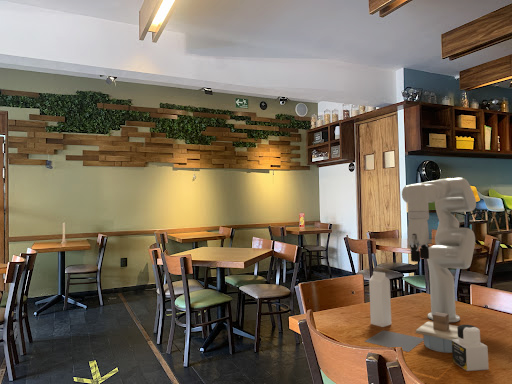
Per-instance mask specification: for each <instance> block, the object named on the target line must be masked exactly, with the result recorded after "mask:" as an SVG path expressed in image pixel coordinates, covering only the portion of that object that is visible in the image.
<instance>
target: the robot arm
mask: <svg viewBox="0 0 512 384" xmlns="http://www.w3.org/2000/svg"><path fill="white" fill-rule="evenodd" d="M401 196H402V197H401V198H402V200H403V201H404V202H405V203H407V220H408V226H407V227H408V229H407V230H408V231H407V244H408V245H409V246H410V250H409V251H410V261H411V262H413V263H420V262H421V259H425V260H426V261H427V266H428V271H429V272H428V273H429V289H430V290H429V291H430V293H429V294H430V309H431V310H430V312H429V313H427V318H428V319H430V320H432V321H433V314H435V313H436V312H439V313H445V314H449V323H456V322H459V321H460V320H461V317H460V315H458V314H456V313H457V312H456V297H455V296H456V294H455V292H456V291H455V279H454V274H452V272H451V271H450V270H449V269H460V270H466V269H469V268H470V267H471V264H472V260H473V256H474V250H475V245H476V235H475V232H474V231H473V230H472V229H471V228H469V227H460V221H459V220H458V219H457V217H456V216H455V215H454V214H453V213H460V212H462V213H466V212H467V213H468V212H473V211H474V210H475V209H476V207H477V199H476V197H475V194H474V192H473V189H472V187H471V185H470V183H469V181H468V179H466V178H463V177H454V178H453V177H452V178H451V177H449V178H440V179H436V180H431V181H424V182H418V183H411V184H407V185H404V187H403V188H402V190H401ZM429 203H432V204H433V203H434V205H435V206H434V207H435V211H436V215H437V218H438V221H439V222H438V225H437V229H436V233H435V237H434V242H435V244H434V245H431V246H429V241H430V240H429V239H430V237H429V236H430V234H429V232H430V231H429V223H428V220H430V211H429V209H430V208H429Z"/></svg>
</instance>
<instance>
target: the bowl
mask: <svg viewBox="0 0 512 384" xmlns="http://www.w3.org/2000/svg"><path fill="white" fill-rule="evenodd" d="M423 338H424V340H423V345H424V346H425V347H426V348H427V349H430V350H432V351H435V352H441V353H452V340H448V339H443V338H438V337H433V336H428V335H423Z"/></svg>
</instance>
